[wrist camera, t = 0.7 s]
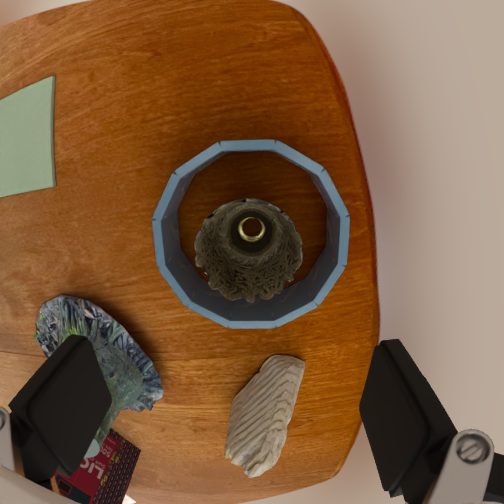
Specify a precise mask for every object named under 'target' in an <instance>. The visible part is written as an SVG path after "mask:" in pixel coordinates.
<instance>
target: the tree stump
mask: <svg viewBox="0 0 504 504" xmlns="http://www.w3.org/2000/svg"><path fill="white" fill-rule="evenodd" d="M36 329H37V333H36V334H34V339H36V342H37V343H38V344H39V343H40V345H41V348H42V350H43V353H44V354H45V355H46V357H47V359H48V358H49V357H50V356H51V355H52V353H53V352H54V351H55V350H56V349H57V348H58V347H59V346H60V345H61V344H62V343H63V341H64V340H65V339H66V338H67V337H68V336H69V335H71V334H76V335H83V336H86V337H87V338H88V340H89V341H91V343H92V345H93V348H94V351H95V354H96V357H97V360H98V362H99V365H100V368H101V371H102V373H103V376H104V379H105V381H106V384H107V386H108V389H109V391H110V394H111V396H112V404H111V407H110V408H109V410H108V412H107V414H106V416H105V418H104V420H103V422H102V423H101V425H100V427H99V429H98V431H97V433H96V435H95V437H94V439H93V441H92V443H91V445H90V447H89V449H88V451H87V453H86V455H85V457H84V458H90V457H94V456H96V455H97V454H98V453H99V451H100V448H101V446H102V443H103V442H104V440H105V438H106V436H107V434H108V431H109V429H110V428H111V426H112V424H113V422H114V420H115V419H116V417H117V416H118V413H119V412H120V410H124V409H131V410H135V411H137V412H141V411H143V410H144V409H145V408H147V409H148V410H149V411H151V409H152V408H153V404H154V403H155V402H156V401H158V400H160V399H161V398H162V396H163V391H164V390H163V388H162V387H161V381H162V380H161V378H160V376H159V373H158V372H157V371H156V369H155V367H154V364H153V362H152V361H151V359H150V358H149V357H148V356H147V355H146V354H145V353H144V352H143V350H142V348H141V347H140V346H139V345H138V344H137V343H136V342H135V341H134V339H133V338H132V337H131V336H130V334H129V333H128V332H127V331H126V329H125V328H124V327H123V326H122V325H120V324H119V323H118V322H117V321H116V320H115V319H114V318H112V317H111V316H110V315H109V314H107V313H106V312H105V311H104V310H102V309H101V308H100V307H99V306H97V305H96V304H94V303H92V302H90V301H88V300H86V299H84V298H79V297H72V296H66V295H60V296H58V297H56V298H54V299H52V300H49V301H47V302H45V303H44V304H43V305H42V306H41V308H40V311H39V314H38V318H37V322H36Z"/></svg>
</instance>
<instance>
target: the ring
mask: <svg viewBox="0 0 504 504" xmlns="http://www.w3.org/2000/svg"><path fill="white" fill-rule="evenodd" d="M259 151H272V152H273V153H275V154H277V155H279V156H281V157H282V158H284V159H286V160H288V161H290V162H291V163H293V164H295V165H296V166H298V167H300V168H302V169H303V170H305V171H307V172H308V173H309V175H310V177H311V179H312V181H313V182H314V184H315V186H316V188H317V189H318V191H319V193H320V195H321V197H322V199H323V200H324V202H325V204H326V206H327V227H326V246H325V248H324V250H323V251H322V253H321V254H320V256H319V258H318V259H317V261H316V262H315V264H314V265H313V267H312V268H311V270H310V271H309V273H308V275H307V276H306V278H304V279H302V280H300V281H299V282H297V283H295V284H293V285H291V286H289V287H287V288H286V289H284V290H282V291H281V293H280V294H277V293H276V294H274V296H273V297H272V298H270V299H267V300H264V299H262V298H261V297H260V296H259V295H258V296H257V297H256V299H255V301H254V302H253V303H250V302H248V301H247V300H245V299H246V298H241V299H238V300H229V299H227V298H225V297H224V296H223V295H222V294H221V293H220V291H219V290H218V289H216V290H213V289H211V287H210V286H209V285H208V282H207V281H205V280H203V279H202V278H201V277H200V275H199V274H198V272H197V271H196V269H195V268H194V267H193V265H192V264H191V262H190V261H189V259H188V258H187V256H186V255H185V253H184V252H183V250H182V249H181V247H180V236H179V225H178V212H177V210H178V207H179V205H180V203H181V201H182V199H183V197H184V195H185V193H186V191H187V189H188V187H189V185H190V183H191V181H192V179H193V177H194V175H195V174H196V173H198V172H199V171H201V170H202V169H204V168H205V167H207V166H208V165H210V164H212V163H213V162H215V161H216V160H218V159H219V158H221V157H223V156H224V155H226V154H227V153H229V152H259ZM323 168H324V167H323V166H321V165H320V164H318V163H316V162H315V161H313V160H311V159H310V158H308V157H306V156H305V155H303V154H301V153H300V152H298V151H296V150H294V149H293V148H291V147H289V146H287V145H286V144H284V143H282V142H280V141H278V140H277V141H276V142H275V140H274V139H259V140H228V141H220V143H219V142H217V143H215V144H213V145H212V146H210V147H209V148H207V149H206V150H204V151H202V152H201V153H199V154H198V155H196V156H195V157H193V158H192V159H190V160H189V161H187V162H186V163H184V164H183V165H182V166H180V167H179V168H177V169H176V170H175V173H172V175H171V177H170V179H169V181H168V183H167V185H166V188H165V190H164V192H163V194H162V196H161V198H160V201H159V203H158V205H157V207H156V210H155V212H154V214H153V217H152V218H154V219H153V220H152V227H153V236H154V245H155V253H156V261H157V266H158V267H159V268H158V270H159V271H160V273H161V274H162V275H163V277H164V278H165V280H166V281H167V282H168V284H169V285H170V287H171V288H172V289H173V291H174V292H175V293H176V295H177V296H178V297H179V299H180V300H181V302H182V303H183V304H184V306H186V305H187V308H189V309H191V310H193V311H195V312H197V313H199V314H201V315H203V316H205V317H207V318H209V319H211V320H213V321H215V322H217V323H219V324H221V325H223V326H225V327H228V326H229V328H248V329H252V328H275V325H276V327H279V326H281V325H283V324H286V323H288V322H289V321H291V320H293V319H295V318H297V317H299V316H301V315H303V314H305V313H307V312H309V311H311V310H313V309H315V308H317V307H318V306H317V304H318V305H320V304H321V303H322V301H323V300H324V298H325V297H326V295H327V294H328V293H329V291H330V290H331V288H332V287H333V285H334V284H335V282H336V281H337V279H338V278H339V276H340V275H341V273H342V272H343V270H344V269H345V266H344V265H347V255H348V242H349V226H350V217H349V216H348V215H349V212H348V210H347V208H346V206H345V204H344V202H343V200H342V199H341V197H340V195H339V193H338V191H337V189H336V187H335V185H334V183H333V182H332V180H331V178H330V176H329V174H328V172H327V171H326V169H323Z"/></svg>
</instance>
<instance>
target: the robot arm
mask: <svg viewBox="0 0 504 504" xmlns="http://www.w3.org/2000/svg"><path fill="white" fill-rule="evenodd" d="M111 404H112V396H111V394H110V391H109V389H108V386H107V384H106V381H105V379H104V376H103V373H102V371H101V368H100V365H99V362H98V360H97V357H96V354H95V351H94V348H93V345H92V343H91V341H89V340H88V338H87V337H86V336H83V335H76V334H71V335H69V336H68V337H67V338H66V339H65V340H64V341H63V343H62V344H61V345H60V346H59V347H58V348H57V349H56V350H55V351H54V352H53V353H52V355H51V356H50V357H49V358H48V359H47V360H46V361H45V362H44V363H43V365H42V366H41V367H40V368H39V369H38V370H37V371H36V372H35V374H34V375H33V376H32V377H31V378H30V379H29V381H28V382H27V383H26V384H25V385H24V386H23V388H22V389H21V390H20V391H19V392H18V394H17V395H16V396H15V397H14V398H13V400H12V401H11V402H10V403H9V405H8V406H9V407H10V409H11V411H12V412H11V413H10V414H9V413H8V411H7V410H6V409H5V408H3V407H0V504H80V503H78V502H75V501H73V500H70V499H68V498H66V497H63V496H61V495H60V493H59V489H58V486H57V483H56V480H55V476H54V474H55V472H56V471H57V472H58V473H59V474H61V475H64V476H66V477H69V478H71V477H72V475H73V472H76V471H77V470H78V469H79V467H80V465H81V463H82V461H83V459H84V457H85V455H86V453H87V451H88V449H89V447H90V445H91V443H92V441H93V439H94V437H95V435H96V433H97V431H98V429H99V427H100V425H101V423H102V422H103V420H104V418H105V416H106V414H107V412H108V410H109V408H110V407H111ZM359 411H360V415H361V418H362V421H363V424H364V427H365V430H366V434H367V437H368V440H369V443H370V446H371V450H372V453H373V456H374V459H375V463H376V466H377V470H378V473H379V476H380V480H381V483H382V487H383V489H384V491H389V494H390V497H391V498H392V497H396V496H399V495H403V496H404V500H405V502H406V503H405V504H504V455H501V454H498V453H494V445H493V442H492V440H491V439H490V437H489V436H488V435H487V434H485V433H484V432H482V431H480V430H476V429H467V430H463V431H461V432H459V433H458V431H457V430H456V428H455V426H454V424H453V423H452V421H451V419H450V418H449V416H448V414H447V412H446V411H445V409H444V407H443V406H442V404H441V402H440V401H439V399H438V397H437V396H436V394H435V392H434V391H433V389H432V388H431V386H430V384H429V383H428V382H427V380H426V378H425V377H424V376H423V375H422V373H421V372H420V371H419V369H418V367H417V366H416V364H415V362H414V361H413V359H412V358H411V356H410V355H409V353H408V352H407V350H406V349H405V347H404V346H403V345H402V343H401V342H400V340H399V339H392V340H383V341H381V342H380V344H379V345H377V346H375V348H374V352H373V356H372V360H371V364H370V368H369V372H368V376H367V380H366V383H365V387H364V390H363V394H362V397H361V401H360V405H359Z"/></svg>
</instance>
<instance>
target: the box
mask: <svg viewBox="0 0 504 504" xmlns="http://www.w3.org/2000/svg"><path fill="white" fill-rule="evenodd" d="M140 452H141V450H139V449H138V448H137V447H135V446H134V445H132V444H131V443H130V442H128V441H127V440H125V439H124V438H123V437H121V436H120V435H119V434H117V433H116V432H115V431H114V430H112V429H111V428H110V429H109V431H108V434H107V436H106V438H105V440H104V442H103V443H102V446H101V448H100V451H99V453H98V454H97V455H96V456H94V457H90V458H84V459H83V461H82V463H81V465H80V467H79V469H78V470H77V471H76V472H73V475H72V477H71V478H69V477H66V476H64V475H61V474H59V473H58V472H57V471H56V472H55V474H54V476H55V480H56V483H57V486H58V489H59V493H60V495H61V496H63V497H66V498H68V499H70V500H73V501H75V502H78V503H80V504H122V503H123V500H124V497H125V494H126V491H127V488H128V486H129V483H130V480H131V477H132V474H133V471H134V468H135V466H136V463H137V460H138V457H139V454H140Z"/></svg>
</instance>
